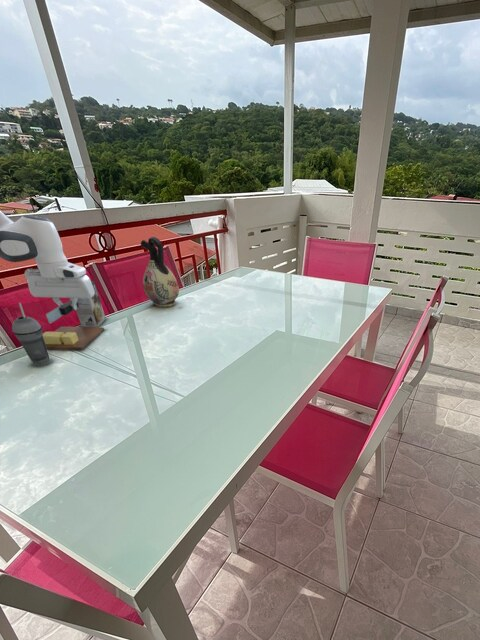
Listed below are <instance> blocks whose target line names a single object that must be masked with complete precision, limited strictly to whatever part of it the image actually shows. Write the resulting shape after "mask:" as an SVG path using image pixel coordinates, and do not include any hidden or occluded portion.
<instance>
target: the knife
mask: <svg viewBox="0 0 480 640" xmlns="http://www.w3.org/2000/svg"><path fill="white" fill-rule="evenodd" d="M72 302H73V301H71V300H70V299H69V300H68V301H66V302H65V303H63V305H62V306H57V307H55V308H53V309H52V310H50V311H49V312H47V313H45V316H46V318H47V321H48V323H49V324H52V323H54V322H55V321H57V320H59V319H60V318H61V317H63V316H67V315H69V314H70V313H72V312H73V311H74V310H71V308H70V306H69V305H71V304H72ZM76 305H77V307H79V306H78V303H76Z"/></svg>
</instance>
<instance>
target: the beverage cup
mask: <svg viewBox="0 0 480 640" xmlns="http://www.w3.org/2000/svg"><path fill="white" fill-rule="evenodd" d="M18 305H19V309H20V313H21V315H22V316H18V317H17V318H15V319H14V321H13V322H12V324H11V330H12V333H13V334H14V336H15V338H16V339H17V340H18V341H19V342H20V345H21V347H22V348H23V349H24V351H25V352H26V354H27V356H28V358H29V359H30V361H31V363H32V364H33V366H34V367H37V368H39V367H45V366H48V365H49V364H50V363H51V358H50V354H49V350H47V347H46V344H45V341H44V338H43V333H44V332H43V328H42V326H41V324H40V323H39V322H38V320H36V319H35V318H33V317H30V316H26V315H25V311H24V309H23V306H22V303H21V302H18Z"/></svg>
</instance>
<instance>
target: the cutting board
mask: <svg viewBox="0 0 480 640" xmlns="http://www.w3.org/2000/svg"><path fill="white" fill-rule="evenodd" d="M104 331H105V328H104V327H103V326H102V327H101V326H98V327H82V326H60V327H58V328H57V329H55V330H54V331H53V332H64V334H65V333H67V332H76V334H77V337H78V341H77V342H76V343H74V344H73V345H65V344H64V342H63V343H62V344H46V347H47V351H84V350H85V349H86V348H87V347H89V345H90V344H91V343H92V342H94V340H96V339H97V338H98V337H99V336H100V335H101V334H102V333H103V332H104Z"/></svg>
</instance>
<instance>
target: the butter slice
mask: <svg viewBox="0 0 480 640" xmlns="http://www.w3.org/2000/svg"><path fill="white" fill-rule="evenodd" d="M62 340H63V342H64V344H65V345H73V344H74V343H76V342H77V341H78V337H77V334H76V332H67V333H65V334H64V335H63V336H62Z"/></svg>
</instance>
